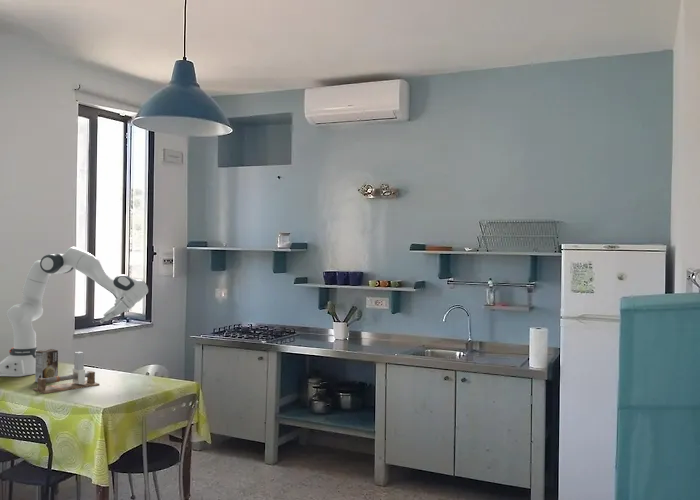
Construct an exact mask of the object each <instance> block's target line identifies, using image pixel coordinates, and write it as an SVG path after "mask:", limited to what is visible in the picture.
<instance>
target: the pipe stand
mask: <svg viewBox="0 0 700 500" xmlns="http://www.w3.org/2000/svg"><path fill="white" fill-rule="evenodd" d="M85 378H87V379H85V384H76V383H73V381H72V382H67V383H61V384H60V383H59V382H62V381H70V380H73V379H78V374H73V373H72V374H68V375H67V374H66V375H58V376H55V377H51V378H38V382H37V387H35V388H32V390H33V391H34V390H35V391H34V392H37V393H40V394H42V393H43V395H46V394H52V393H58V392H60V393H61V392H65V391H72V390H77V389H84V388H91V387H97V386H100V383H99V382H96V381H95V380H96V372H95V371H92V370H89V371H87V372H85ZM49 383H59V384H52V385H47V386H46V384H49Z"/></svg>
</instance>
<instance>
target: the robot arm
mask: <svg viewBox="0 0 700 500" xmlns="http://www.w3.org/2000/svg"><path fill="white" fill-rule="evenodd" d="M73 270H76V271H78V272H80V273H81V274H83V275H85V276H87V277H88V278H90V279H91V280H92V281H94V282H95V283H96V284H98V285H99V286H101V287H102V288H103V289H105V290H107V291H108V292H109V293H111V294H112V295H113V296H114V298H115V300H114V306H112V307H111V308H110V309H108V310H107V311H106V312H105V313H104V314H103V317H102V318H101V319H100V320H99V322H100V324H103V323H105V322H108V321H109V320H111V319H113V318H115V317H117V316H120V315H121V314H123V313H128V312H129V311H130V310H131V309H132V308H134V307H135V305H136V304H137V303H139V302H141V300H142V299H143V298H144V297H146V295H147V294H148V293H149V286H148V284H147V282H145V281H144V280H143V279H137V278H132V277H130V276H129V275H127V274H119V275H116V277H114V278H113V279H112V278H111V277H110V276H108V275H107V273H106V272H105V270H104V268H103V266H102V264H101V262H100V260H99V258H97V257H96V256H95V255H93V254H91V253H90V252H88V251H86V250H83V249H81V248H79V247H76V246H71V247H69V248H68V249H66V250H65V252H64V253H48V254H45V255H44V256H43V257H41V259H40V260H39V259H37V260H35V261H34V262H33V263H32V265H31V267H30V268H29V270H28V272H27V275H26V277H25V281H24V284H23V287H22V289H21V291H22V301H21V303H16V304H13V306H11V307H10V308H8V309H7V312H6V318H7V320H8V322H9V323H10V325H11V328H12V332H13V333H12V334H13V347H11V348H10V349H9V350H8V352H9V355H8V356H7V357H5V358H4V359H2V360H1V361H0V377H23V376H24V377H25V376H31V375H35V364H36V351H38V347H37V332H36V330H34V325H33V322H34V321H37V320H38V319H40V318H41V317H42V316H43V314H44V308H43V301H44V300H43V299H44V294H45V291H46V289H47V285H48V284H49V283H48V282H49V279H50V277H51V276H52V275H60V274H68V273H71V272H72V271H73Z"/></svg>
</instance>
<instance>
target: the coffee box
mask: <svg viewBox="0 0 700 500" xmlns="http://www.w3.org/2000/svg"><path fill="white" fill-rule="evenodd" d="M58 362H59V350H58V349H55V348H49V349H41V350H37V351H36V364H35V374H34V377H35V379H34V380H35V381H34V382H36V383H38V378H51V377H55V376H59V363H58Z"/></svg>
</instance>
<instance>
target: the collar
mask: <svg viewBox="0 0 700 500" xmlns="http://www.w3.org/2000/svg"><path fill="white" fill-rule="evenodd" d="M73 355H74V356H73V357H74V358H73V361H74V362H73V363H74V365H73V368H72V374H78V379H72V382H73V383H76V384H85V381H86V377H85V373H86V369H85V368H84V367H85V359H84V358H85V353H84V352H83V351H75V352H74V354H73Z"/></svg>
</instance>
